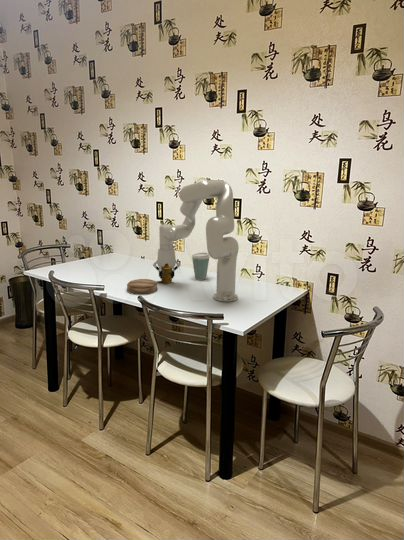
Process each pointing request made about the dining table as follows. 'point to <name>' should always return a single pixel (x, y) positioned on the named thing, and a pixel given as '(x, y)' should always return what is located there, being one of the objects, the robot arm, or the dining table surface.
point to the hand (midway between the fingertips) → (166, 277)
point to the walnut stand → (142, 286)
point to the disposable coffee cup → (200, 265)
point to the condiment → (166, 275)
